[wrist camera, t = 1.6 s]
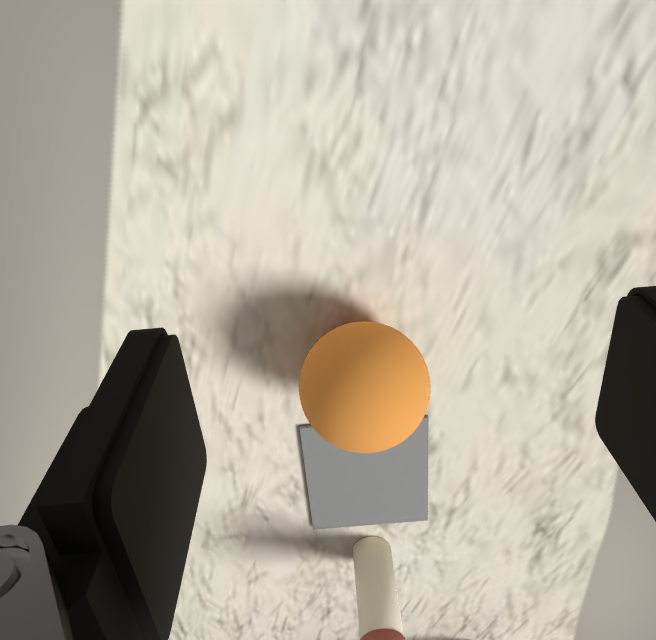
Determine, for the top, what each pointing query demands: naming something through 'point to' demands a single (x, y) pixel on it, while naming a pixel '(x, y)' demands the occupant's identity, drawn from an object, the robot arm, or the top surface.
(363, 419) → the ball
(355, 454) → the grey flat plate
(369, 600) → the pin
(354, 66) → the top surface
